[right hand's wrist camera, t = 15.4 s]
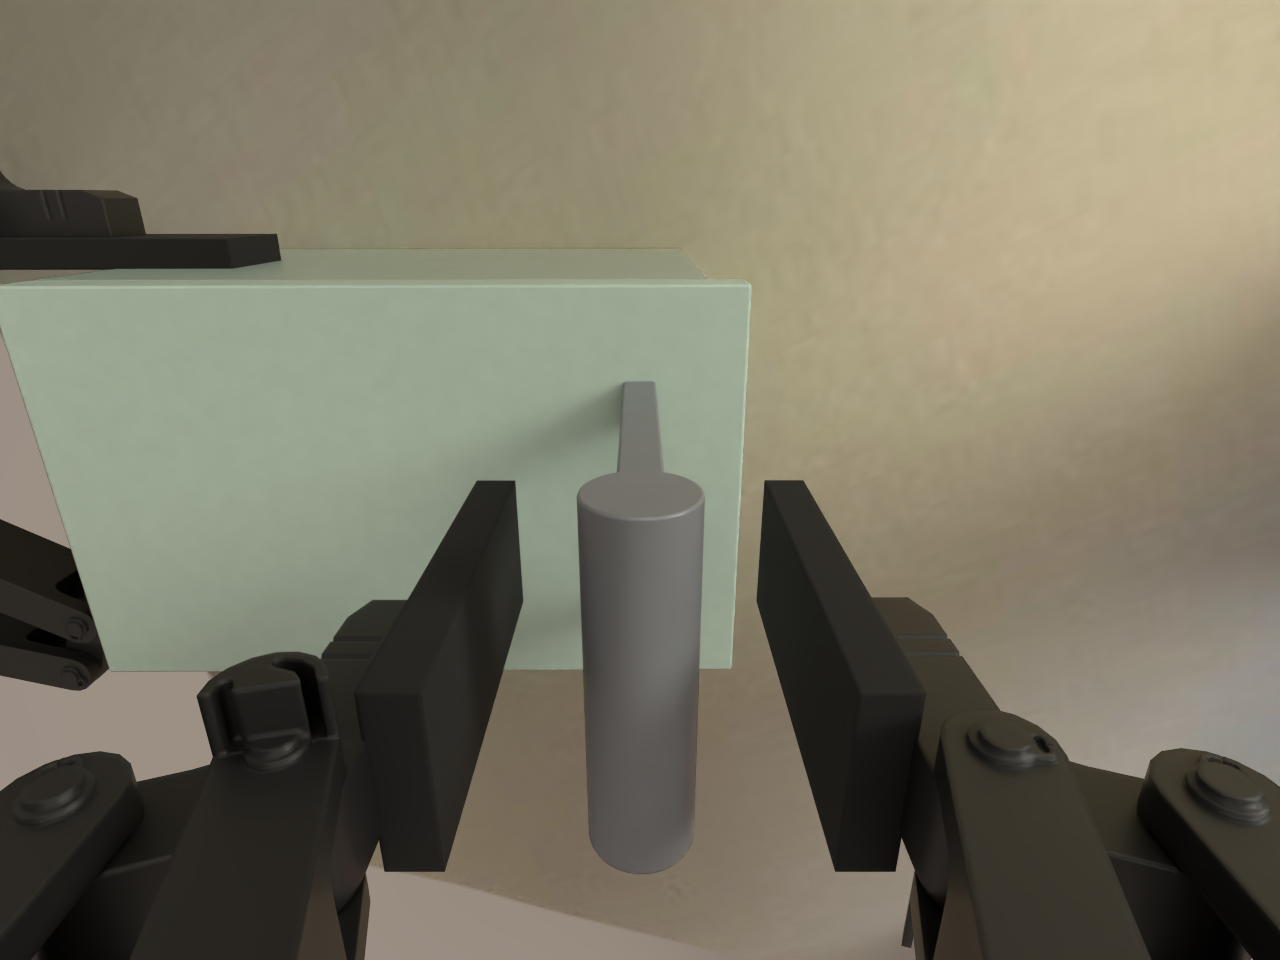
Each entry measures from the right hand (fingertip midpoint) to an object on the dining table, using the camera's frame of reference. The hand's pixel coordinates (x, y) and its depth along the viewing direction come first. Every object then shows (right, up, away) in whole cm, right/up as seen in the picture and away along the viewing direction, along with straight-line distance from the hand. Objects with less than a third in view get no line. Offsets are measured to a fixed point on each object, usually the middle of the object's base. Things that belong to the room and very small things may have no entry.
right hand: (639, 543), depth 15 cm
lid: (-6, +1, +3) cm, 7 cm away
